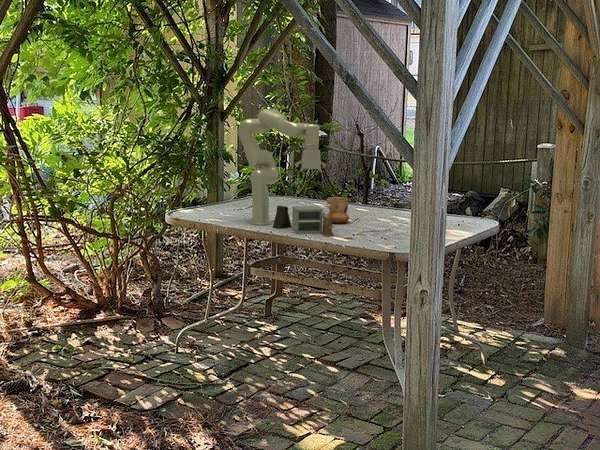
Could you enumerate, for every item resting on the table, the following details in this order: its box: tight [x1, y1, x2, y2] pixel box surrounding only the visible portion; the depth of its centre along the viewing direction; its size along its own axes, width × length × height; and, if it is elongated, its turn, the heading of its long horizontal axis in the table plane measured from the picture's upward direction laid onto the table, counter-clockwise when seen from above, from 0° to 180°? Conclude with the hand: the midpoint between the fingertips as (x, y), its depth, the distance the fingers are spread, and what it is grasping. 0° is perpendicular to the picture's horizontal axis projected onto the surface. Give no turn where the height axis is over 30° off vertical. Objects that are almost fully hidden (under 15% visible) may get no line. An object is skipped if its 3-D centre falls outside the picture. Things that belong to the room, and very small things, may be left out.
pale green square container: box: [291, 205, 335, 237], centre depth 407 cm, size 22×18×13 cm
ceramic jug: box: [325, 196, 350, 225], centre depth 444 cm, size 18×14×14 cm
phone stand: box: [272, 205, 292, 230], centre depth 424 cm, size 9×6×12 cm, turn 135°
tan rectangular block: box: [322, 215, 334, 237], centre depth 402 cm, size 4×8×10 cm, turn 11°
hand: (310, 179), depth 411 cm, fingers open, 9 cm apart
